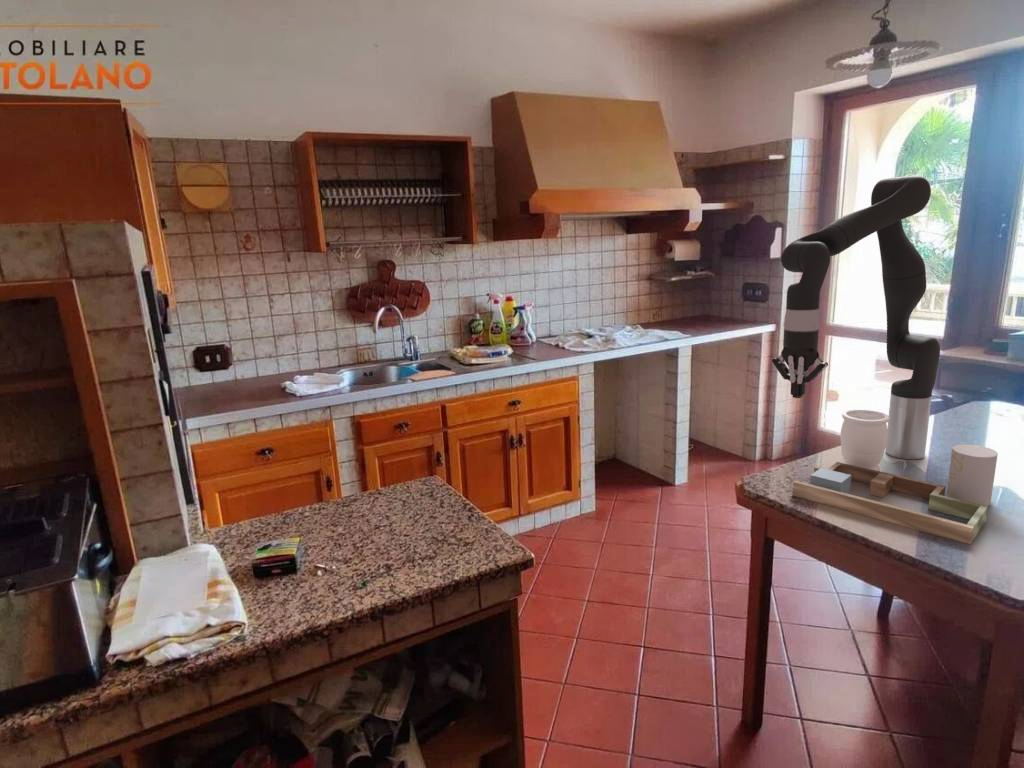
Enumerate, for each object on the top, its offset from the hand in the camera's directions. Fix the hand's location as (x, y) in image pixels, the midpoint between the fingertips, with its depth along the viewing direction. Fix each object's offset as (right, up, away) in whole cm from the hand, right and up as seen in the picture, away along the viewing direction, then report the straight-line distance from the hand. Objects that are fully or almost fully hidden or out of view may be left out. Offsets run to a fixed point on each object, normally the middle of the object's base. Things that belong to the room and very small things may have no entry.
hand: (797, 397), depth 145 cm
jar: (+23, -19, +12) cm, 32 cm away
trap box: (+17, -24, -8) cm, 31 cm away
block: (+7, -24, -1) cm, 25 cm away
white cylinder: (+36, -24, -8) cm, 43 cm away
